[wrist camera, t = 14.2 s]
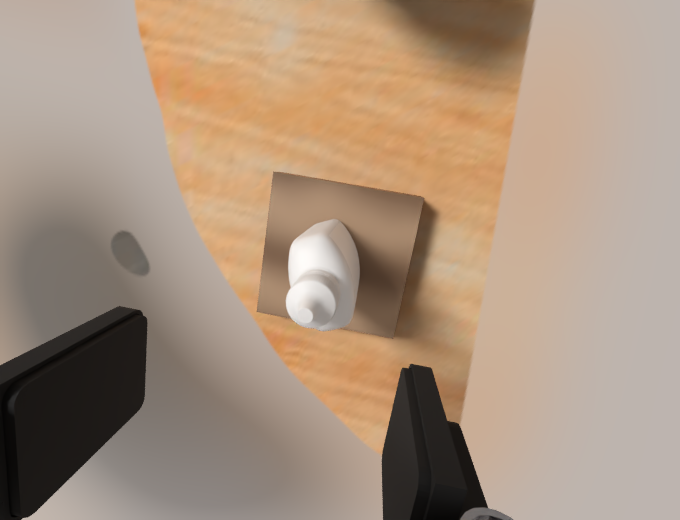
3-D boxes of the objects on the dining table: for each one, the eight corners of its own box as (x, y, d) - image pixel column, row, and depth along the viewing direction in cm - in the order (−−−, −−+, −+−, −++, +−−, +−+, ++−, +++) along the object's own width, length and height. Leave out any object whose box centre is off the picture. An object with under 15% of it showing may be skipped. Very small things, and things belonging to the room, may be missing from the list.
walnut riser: (282, 172, 28) (273, 171, 26) (419, 196, 28) (424, 197, 25) (266, 301, 31) (256, 311, 28) (391, 326, 30) (393, 338, 28)
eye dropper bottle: (373, 227, 26) (371, 266, 14) (354, 297, 27) (339, 386, 16) (315, 212, 26) (267, 240, 15) (299, 283, 27) (244, 360, 16)
